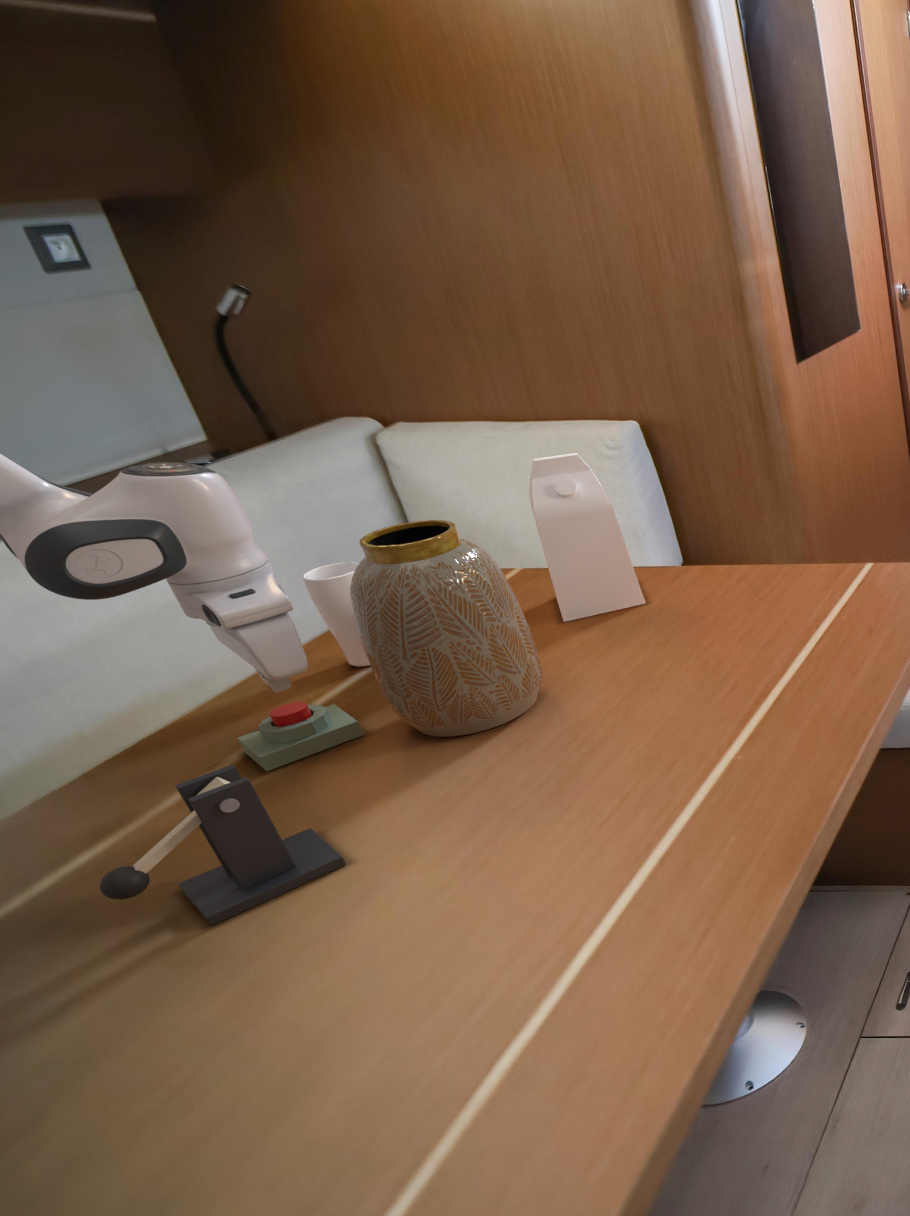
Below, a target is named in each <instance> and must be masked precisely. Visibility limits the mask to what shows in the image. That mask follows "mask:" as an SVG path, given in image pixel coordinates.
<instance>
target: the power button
mask: <svg viewBox="0 0 910 1216" xmlns="http://www.w3.org/2000/svg"><path fill="white" fill-rule="evenodd" d="M307 705H308V704H307V703H306V702H304V701H295V702H290V703H285V704H283V705H279V706H277V707H275V708H274V709H272V710H271V711H269V717H271V719H272V721H273V723H274V725H275V726H276V727H284V726H289V725H294V724H297V723H299V722H302V721H305V720H306V719H308V718H310V717H311V716H312V714H311V712H310V710H309V708H308V706H307Z"/></svg>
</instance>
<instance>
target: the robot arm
mask: <svg viewBox="0 0 910 1216" xmlns="http://www.w3.org/2000/svg"><path fill="white" fill-rule="evenodd" d="M253 530H254V529H253V525H252V523H251V521H250V519H249V517H248V515H247V512H246V511H245V509H244V507H243V505H242V504H241V502H240V500H239V498H238V497H237V495H236V493H235V492H234V491H233V489H232V487H231V486H230V485H229V483H228V482H227V481H226V480H225V478H224V477H223V476H221V474H219V473H218V472H216V471H215V470H213V469H210V468H208V467H206V466H203V465H200V464H196V463H190V462H178V461H172V462H171V461H166V462H165V461H164V462H163V461H162V462H148V463H147V462H146V463H141V464H138V465H131V466H129V467H126V468H123V469H121V470H120V471H119V473H118V474H117V476H116V477H114V478H113V479H112V480H111V481H110V482H108V483H107V484H106V485H104V486H103V487H102V488H101V489H99V490H97V491H96V492H95V493H92V492H88V491H83V490H80V489H76V488H73V487H68V486H64V485H61V484H57V483H55V482H52V481H49V480H47V479H45V478H43V477H41V476H39V475H37V474H35V473H34V472H33V471H30V470H29V469H28V468H26V467H24V466H22V465H20V464H19V463H18V462H16V461H14V460H13V459H11V458H9V457H7V456H6V455H4V454H2V453H1V452H0V539H1V541H2V543H3V544H4V545H5V546H6V548H7V549H8V551H9V552H10V553H11V554H12V555H13V556H14V557H15V558H16V559H18V560H19V562H20V563H21V565H22V567H23V568H24V569H25V571H26V572H27V573H28V574H29V576H30V578H31V579H32V580H33V581H34V582H35V583H36V584H38V585H39V586H41V587H42V588H43V589H45V590H47V591H49V592H51V593H53V594H56V595H59V596H61V597H65V598H71V599H74V600H75V599H76V600H85V601H87V600H90V601H92V600H93V601H96V600H97V601H98V600H105V599H111V598H117V597H119V596H120V597H121V596H123V595H125V594H129V593H131V592H134V591H137V590H140V589H142V588H146V587H148V586H151V585H153V584H156V583H159V582H162V581H164V580H165V581H166V582H167V584H168V586H169V587H170V590H171V591H172V593H173V595H174V597H175V598H176V600H177V603H178V604H179V607H180V608H181V609H182V612H183V613H184V615H185V616H186V617H188V618H190V619H198V620H202V621H205V623H206V625H207V626H209V627H210V629H211V631H212V633H213V635H214V637H215V638H216V640H218V642H220V643H221V644H222V645H224V646H225V647H226V648H227V649H229V650H230V651H232V652H233V653H234V654H235V655H237V656H238V657H239V658H241V659H242V660H244V662H246V663H248V664H249V665H250V666H251V667H252V668H253V669H254V670H255V671H256V673H257V674H258V676H260V678H261V680H262V682H263V684H264V686H266V687H267V688H268V689H270V690H271V691H272V692H274V693H277V694H279V693H281V692H284V691H287V690H290V689H291V688H292V683H291V681H290V679H289V678H291V677H295V676H298V675H301V674H303V673H306V672H307V671H308V669H309V665H308V664H309V663H308V658H307V655H306V653H305V649H304V646H303V644H302V643H303V642H302V641H301V639H300V635H299V633H298V629H297V628H296V626H295V623H294V621H293V619H292V617H291V615H290V614H289V612H292V611H293V610H294V606H293V604H292V602H291V600H290V598H289V597H288V595H287V594H286V592H285V591H284V588H283V586H282V584H281V583H280V581H279V578H278V576H277V573H276V572H275V570H274V567H273V566H272V564H271V562H270V560H269V557H268V556H267V554H266V553H265V552H264V551H263V550H262V549H261V548H260V547H259V546H258V545H257V543H256V541H255V538H254V531H253Z"/></svg>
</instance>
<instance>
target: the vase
mask: <svg viewBox="0 0 910 1216" xmlns="http://www.w3.org/2000/svg"><path fill="white" fill-rule="evenodd" d="M359 546H360V548H361V550H362V552H363V554H364V557H363V558H362V560H360V561H359V562H358V563H359V564H358V566H357V567H356V569H355V571H354V574H353V576H352V580H351V586H350V596H351V603H352V609H353V613H354V618H355V622H356V626H357V629H358V632H359V635H360V638H361V641H362V644H363V647H364V650H365V652H366V655H367V658H368V660H369V663H370V668H371V670H372V673H373V675H374V677H375V680H376V681H377V683H378V685H379V688H380V690H381V692H382V694H383V696H384V698H385V700H386V702H387V704H388V705H389V707H390V708H391V710H392V711H393V712H394V713H395V714H396V716H398V717H399V718H400V719H401V720H402V721H403V722H405V723H406V724H407V725H408V726H410V727H411V728H413V729H415V730H417V731H419V733H421V734H424V735H426V736H427V735H428V736H431V737H441V738H443V737H445V738H450V737H460V736H465V735H472V734H477V733H480V732H485V731H488V730H490V729H494V728H496V727H498V726H501V725H504V724H506V723H508V722H512V721H513V720H514V719H517V718H518V717H521V716H522V715H523V714H524V713H526V712H527V711H528V710H529V709H531V707H532V706H533V705H534V704H535V702H536V701H537V698H538V696H539V695H538V694H539V691H540V688H541V684H542V678H543V670H542V663H541V659H540V655H539V652H538V648H537V645H536V643H535V638H534V637H533V634H532V631H531V628H530V625H529V623H528V621H527V619H526V616H525V614H524V611H523V609H522V607H521V605H520V602H519V600H518V598H517V596H516V594H515V592H514V589H513V588H512V586H511V584H510V582H509V580H508V579H507V577H506V576H505V574H504V572H503V571H502V569H501V567H500V566H499V564H498V563H497V562H496V561H495V559H494V558H493V556H491V555H490V554H489V553H488V552H487V551H486V550H484V549H483V548H482V547H480V546H479V545H477V544H475V543H473V542H471V541H469V540H467V539H464V538H461V537H460V534H459V531H458V528H457V526H456V524H455V523H454V522H452V521H449V520H442V519H426V520H415V521H408V522H403V523H398V524H393V525H390V526H386V527H382V528H380V529H376V530H374V531H372V532H369V533H367V534H365V535H364V536H362V537H361V538H360V539H359Z"/></svg>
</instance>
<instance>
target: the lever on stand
mask: <svg viewBox="0 0 910 1216" xmlns="http://www.w3.org/2000/svg"><path fill="white" fill-rule="evenodd" d="M216 777H219V778H221V779H224V780H226V781H229V782H231V783H228V784H225V785H223V786H220V787H217V788H215V789H212V790H209V791H207V792H204V793H201V794H199V795H197V794H198V793H199V792H200V791H201V790H203V789H204V788H205V787H206V786H207V785H208V784H209V783H210V782H211V781H213V780H214V779H215V778H216ZM175 788H176V790H177V792H178V793H179V795H180V797H181V799H182V800H183V802H184V804H185V806H186V807H187V809H188V811H189V813H190V814H191V813H192V812H193V811H194V810H195V812H196V814H197V815H198V817H199V819H200V821H201V822H202V823H201V824H200V825H199V826H198V827H199V829H200V831H201V833H202V834H203V835H204V838H205V840H206V841H207V843H208V845H209V846H210V848H211V850H212V852H213V853H214V854H215V856H216V858H217V859H218V861H219V864H220V865H219V866H217V867H215V868H213V869H210V870H208V871H205V872H203V873H200V874H199V875H198V874H197V875H196V876H194V877H191V878H189V879H186V880H184V881H182V882H179V883H177V884H178V887H179V889H180V890H181V892H182V893H183V894H184V896H185V897H186V898H187V900H189V901H190V902H191V904H192V905H193V906H194V907H195V909H197V911H198V912H199V913H200V914H201V915H202V917H203V918H204V919H205V921H207V922H208V924H209V925H210V926H215V925H217V924H219V923H221V922H224V921H225V920H227V919H230V918H232V917H235V916H237V915H239V914H241V913H243V912H245V911H247V910H249V909H252V908H254V907H256V906H258V905H261V904H263V903H266V902H267V901H269V900H272V899H274V898H277V897H278V896H281V895H283V894H285V893H287V892H289V891H291V890H293V889H296V888H299V887H300V886H302V885H305V884H307V883H309V882H311V881H314V880H316V879H318V878H321V877H322V876H324V875H326V874H329V873H331V872H333V871H335V870H337V869H340V868H342V867H344V866H346V865H347V863H346V861H345V859H344V857H343V856H342V855H341V854H340V853H339V852H338V851H337V850H336V849H335V848H334V847H333V846H331V845H330V844H329V843H328V842H327V841H326V840H325V839H324V838H323V837H321V835H319V834H318V833H317V831H315V830H314V829H312V828H311V827H310V828H307V829H304V830H303V831H300V832H296V834H293V835H290V836H288V837H286V838H284V839H283V838H282V837H281V835H280V834H279V832H278V830H277V828H276V826H275V824H274V822H273V821H272V819H271V816H270V815H269V813H268V811H267V809H266V808H265V806H264V804H263V802H262V800H261V798H260V797H259V795H258V793H257V791H256V789H255V788H254V786H253V783H252V782H251V780H250V779H249V778H248V777H246V776H245V777H242V776H241V774H240V772H239V770H238V769H237V767H236V766H235V765H234V764H229V765H226V766H224V767H222V768H219V769H216V770H214V771H210V772H208V773H205V774H202V775H199V776H196V777H194V778H192V779H189V780H185V781H184V782H180V783H177V784H175Z"/></svg>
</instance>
